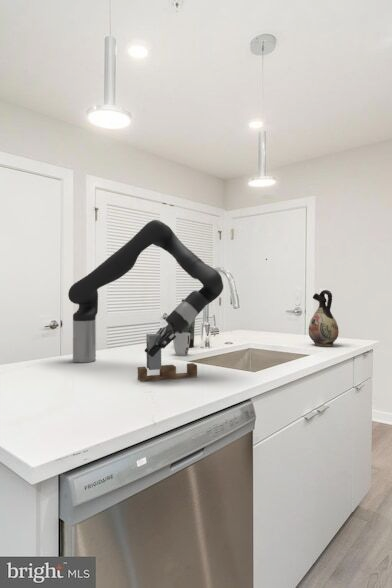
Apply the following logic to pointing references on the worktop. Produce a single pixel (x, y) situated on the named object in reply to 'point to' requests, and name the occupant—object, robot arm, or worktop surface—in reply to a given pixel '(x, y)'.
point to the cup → (181, 343)
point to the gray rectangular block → (155, 361)
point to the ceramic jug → (323, 322)
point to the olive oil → (190, 330)
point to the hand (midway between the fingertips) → (148, 353)
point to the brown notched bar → (167, 373)
